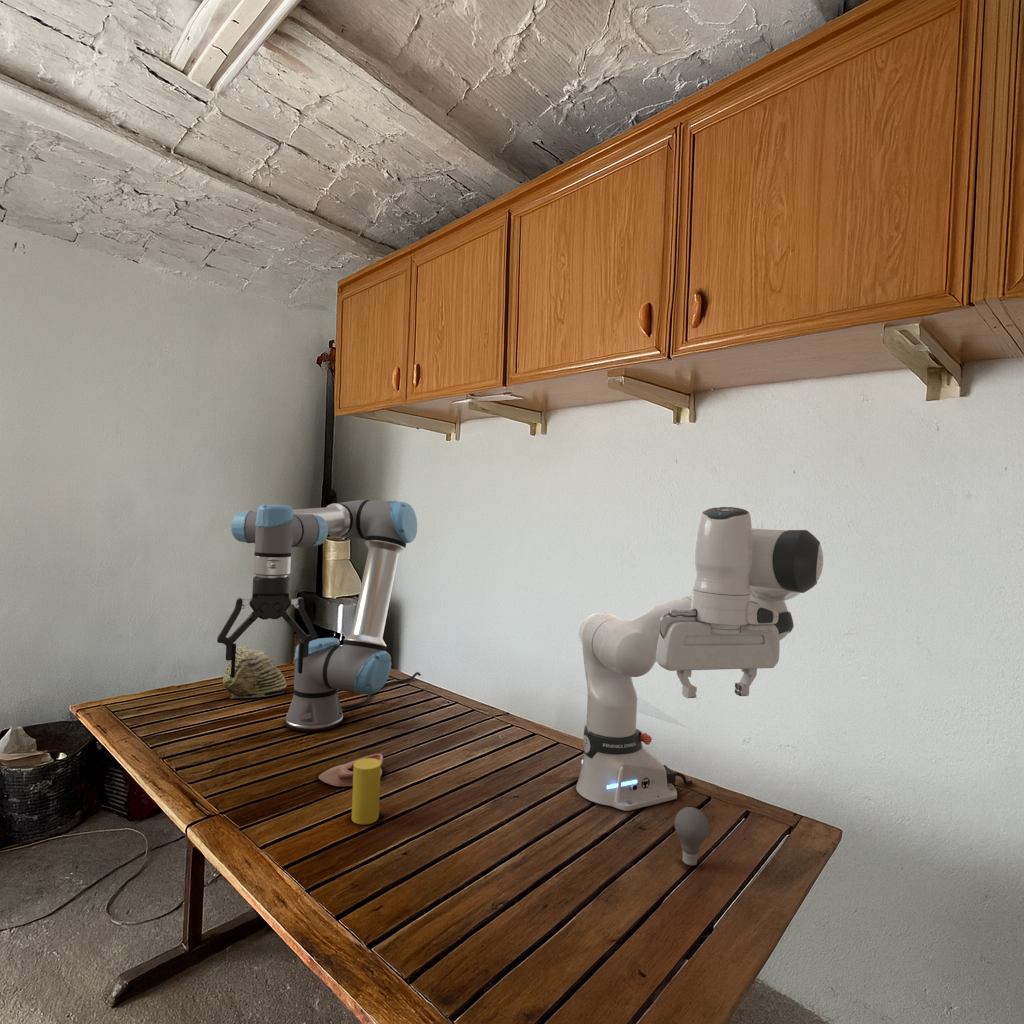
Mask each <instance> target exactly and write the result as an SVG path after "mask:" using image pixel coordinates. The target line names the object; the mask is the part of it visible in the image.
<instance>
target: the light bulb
mask: <svg viewBox="0 0 1024 1024" xmlns="http://www.w3.org/2000/svg"><path fill="white" fill-rule="evenodd" d="M673 825H674V830H675V832H676V834H677V836H678V838H679V840H680V846H681V849H682V858H681V860H682V862H683V863H684V864H686V865H688V866H696V865H697V864H698V854H699V852H700V849H701V846H702V844H703V842H704V841H705V840H706V838H707V836H708V834H709V830H710V824H709V821H708V819H707V817H706V815H705V814H704V812H702V811H701V810H700V809H698V808H697V807H692V806H685V807H683V808H681V809H680V810H679V811H678V812H677V813H676V815H675V818H674V822H673Z"/></svg>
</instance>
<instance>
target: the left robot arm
mask: <svg viewBox="0 0 1024 1024" xmlns="http://www.w3.org/2000/svg"><path fill="white" fill-rule="evenodd" d="M230 527H231V530H230V531H231V534H232V536H233V538H234V540H236V541H238V542H241V543H246V544H254V555H253V571H252V572H253V574H254V575H255V576H254V577H253V578H252V590H251V592H252V593H251V598H250V599H248V598H242V597H240V596H239V597H237V598H236V600H235V606H234V609H233V610H232V612H231V613H230V615H229V616H228V618H227V620H226V621H225V624H224V625H223V627H222V629H221V630H220V632H219V634H218V636H217V637H216V638H217V640H216V643H218V644H223V645H225V661H227V662H228V661H231V677H235V659H236V649H237V643H235V642H236V641H237V640H238V639H239V638H240V637H241V636H242V635H243V634H244V633H245V632H246V630H248V628H250V626H251V625H252V624H253V623H254V622H256V621H257V620H258V618H259V619H261V620H262V621H263V620H269V619H271V620H278V619H280V618H282V619H283V620H284V621H285V622H286V623H287V624H288V625H289V626H290V628H291V629H292V631H294V632H295V634H296V635H297V636H298V637H299V638H300V639H301V640H299V641H298V644H297V645H296V647H295V652H294V653H295V654H294V658H293V660H294V670H293V671H294V672H293V695H292V696H293V697H292V699H291V702H290V704H289V708H288V711H287V713H286V715H285V726H286V728H287V729H289V730H291V731H294V732H295V731H296V732H301V733H316V732H325V731H329V730H332V729H335V728H337V727H339V726H340V725H342V723H343V722H344V714H343V710H344V709H349V708H354V707H358V706H361V705H363V704H366V703H367V702H369V700H370V698H371V696H372V695H373V694H376V693H378V692H379V691H380V690H381V689H382V688H383V687H386V686H390V685H394V684H400V683H405V682H410V681H411V680H413V679H415V677H416V676H419V677H421V676H422V674H421V673H420V672H419V671H416V672H414V674H413V675H412V676H410V677H408V678H407V677H406V678H403V679H397V680H396V679H395V680H392V681H388V679H389V677H390V673H391V669H392V657H391V654H389V652H387V651H386V650H387V644H386V643H385V641H384V638H383V637H384V632H385V627H386V621H387V617H388V611H389V606H390V603H391V602H390V601H391V597H392V591H393V586H394V581H395V576H396V571H397V566H398V561H399V556H400V554H402V553H403V552H405V551H406V547H407V544H410V543H412V542H414V540H415V539H416V536H417V533H418V519H417V514H416V512H415V510H414V508H413V507H412V505H411V504H410V503H408V502H406V501H398V500H374V499H357V500H351V501H344V502H343V501H342V502H336V503H335V502H334V503H330V504H328V505H326V507H312V508H296V509H294V508H293V506H291V505H283V504H260V505H259V506H258V507H257V509H256V511H254V510H248V511H247V510H246V511H239V512H238V513H236V514H235V515H234V517H232V520H231V524H230ZM328 536H330V537H334V538H339V537H342V538H343V537H344V538H354V539H359V540H364V544H365V546H366V547H367V550H368V551H367V556H366V561H365V567H364V570H363V574H362V580H361V584H360V589H359V594H358V598H357V605H356V608H355V613H354V617H353V622H352V627H351V632H350V634H349V635H348V636H346V637H345V638H343V643H342V645H340V644H341V641H340V639H339V638H337V637H321V638H319V636H318V634H317V632H316V629H315V627H314V626H313V623H312V620H311V619H310V617H309V615H308V613H307V610H306V608H305V599H304V598H303V597H302V596H298V597H297V598H290V587H291V586H290V585H291V578H290V577H289V575H290V574H291V569H292V568H291V564H292V548H303V547H305V548H308V547H309V548H313V547H317V546H320V545H322V544H323V543H324V542H325V541H326V540H327V538H328ZM291 605H293V606H294V608H295V609H297V610H298V612H299V614H300V616H301V618H302V620H303V622H304V624H305V626H306V629H307V631H308V633H309V634H307V633H306V632H304V630H303V629H302V628H301V627H300V626H299V624H298V623H297V622H296V620H294V619H293V618H292V616H290V614H289V613H288V612H287V611H288V609H289V608H290V607H291ZM247 606H249V607H250V608H251V610H253V611H251V613H250V614H249V615H248V617H246V619H244V621H243V622H242V623H241V624H240V625H239V626H238V627H237V628H236V629H235V630H234V631H233V632H232V633H231V634H230V635H229V636H228V637H227V635H228V634H229V632H230V630H231V629H232V627H233V626H234V624H235V622H236V620H237V619H238V617H239V615H240V613H241V612H242V610H244V609H246V607H247ZM338 691H342V692H343V691H344V692H347V693H355V694H358V695H367V696H366V698H365V699H364V700H362V701H359V702H354V703H351V704H346V705H341V702H340V699H339V695H338Z"/></svg>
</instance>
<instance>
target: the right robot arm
mask: <svg viewBox="0 0 1024 1024" xmlns="http://www.w3.org/2000/svg"><path fill="white" fill-rule="evenodd" d="M693 566H694V569H695V570H694V571H695V577H694V579H693V580H694V581H693V583H692V588H691V595H689V596H684V597H681V598H677V599H674V600H670V601H667V602H664V603H660V604H656V605H653V606H652V607H651V608H650V609H649V611H647V612H646V613H644V614H642V615H640V616H638V617H635V618H632V619H622V618H621V617H618V616H617V615H614V614H611V613H606V612H599V613H598V612H597V613H592V614H590V615H588V616H587V617H586V618H584V620H583V621H581V624H580V626H579V628H578V639H579V642H580V645H581V649H582V650H581V651H582V657H583V666H584V672H585V681H586V690H587V691H586V692H587V694H586V695H587V696H586V697H587V700H586V723H585V725H584V727H583V739H582V748H583V749H582V751H583V758H582V760H581V768H580V773H579V776H578V779H577V782H576V785H575V790H576V792H577V793H578V794H579V796H581V797H582V798H584V799H586V800H588V801H590V802H593V803H595V804H599V805H603V806H609V807H612V808H614V809H615V808H616V809H617V810H621V811H625V812H629V811H633V810H638V809H642V808H646V807H650V806H653V805H657V804H661V803H665V802H666V803H667V802H670V801H674V800H677V799H678V791H677V788H676V787H675V786H674V784H676V777H680V778H681V779H682V782H683V784H685V785H687V786H690V785H693V781H692V780H687V778H686V775H684V774H683V773H681V772H677V771H673V770H672V769H671V768H669V767H668V766H667V765H666V764H663V763H662V761H661V760H660V759H659V758H658V757H656V756H655V755H654V754H653V753H652V752H651V751H650V750H648V749H647V748H646V747H645V746H644V745H643V744H645V745H646V746H648V745H650V744H651V743H652V741H653V737H652V736H651V735H649V734H648V733H646V732H643V731H641V730H639V728H637V718H638V717H637V715H638V694H637V691H636V689H635V685H634V682H633V678H639V677H642V676H644V675H646V674H648V673H649V672H650V671H651V670H652V668H653V667H654V666H655V663H656V662H657V664H658V666H660V667H661V668H663V669H664V670H666V671H669V672H674V671H675V672H676V675H677V678H678V679H679V682H680V684H681V685H682V692H681V694H682V697H684V698H686V699H696V698H697V691H698V688H697V686H695V685H693V684H691V681H690V679H689V678H691V677H692V671H709V670H710V671H712V670H713V671H714V670H716V671H717V670H718V671H719V670H740V671H741V673H743V674H742V676H741V678H740V680H739V682H735V683H734V694H735V695H736V696H739V697H749V695H750V686H751V685H752V684H753V682H754V680H755V679H756V677H757V675H758V669H775V667H776V666H777V664H778V663H779V660H780V646H781V645H780V643H781V641H782V640H783V639H785V638H786V637H787V636H788V634H790V633H791V632H792V631H793V629H794V627H795V624H794V620H793V619H794V618H793V616H792V613H791V612H790V611H789V609H788V607H787V604H786V601H789V600H792V599H794V598H796V597H798V596H799V595H800V594H804V593H806V592H808V591H810V590H811V589H813V588H814V587H815V586H816V585H817V584H818V581H819V580H820V578H821V575H822V573H823V567H824V552H823V548H822V545H821V542H820V541H819V539H818V538H817V537H816V536H815V535H814V534H813V533H811V532H810V531H809V530H807V529H788V530H783V529H770V528H769V529H766V528H753V525H752V519H751V513H750V511H749V510H747V509H744V508H740V507H733V506H720V507H711V508H707V509H705V510H703V511H702V512H701V513H700V516H699V520H698V524H697V528H696V532H695V540H694V550H693Z"/></svg>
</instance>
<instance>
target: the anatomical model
mask: <svg viewBox="0 0 1024 1024" xmlns="http://www.w3.org/2000/svg"><path fill="white" fill-rule="evenodd" d="M364 758H373V759H377V760H379V761H380V762H381V766H383V762H384V756H383V754H382V753H374V754H369V755H366V756H363V757H360V758H357V759H354V760H352V761H350V762H347V763H344V764H339V765H335V766H333V767H330V768H328V769H326V770H325V771H323V772H322V773H320V774H319V775H318V779H319V780H320V781H321V782H323V783H325V784H327V785H330V786H333V787H353V768H354V763H355V762H356V761H357V760H360V759H364ZM382 774H383V769H382V768H381V775H380V778H381V777H382Z"/></svg>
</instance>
